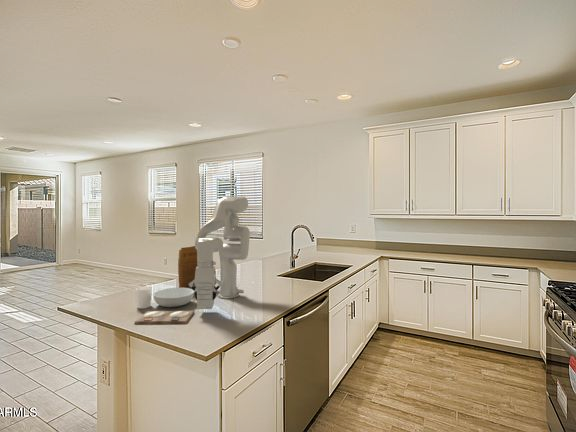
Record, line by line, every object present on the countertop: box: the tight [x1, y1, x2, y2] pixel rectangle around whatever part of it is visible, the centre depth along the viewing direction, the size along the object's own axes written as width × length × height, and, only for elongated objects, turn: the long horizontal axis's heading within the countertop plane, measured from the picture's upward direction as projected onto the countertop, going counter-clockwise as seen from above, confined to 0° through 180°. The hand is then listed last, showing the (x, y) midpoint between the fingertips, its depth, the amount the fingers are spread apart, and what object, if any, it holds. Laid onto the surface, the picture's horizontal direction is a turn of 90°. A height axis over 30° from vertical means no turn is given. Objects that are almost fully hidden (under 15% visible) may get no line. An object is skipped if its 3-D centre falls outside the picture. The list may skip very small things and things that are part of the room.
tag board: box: [134, 310, 195, 325], centre depth 144 cm, size 23×14×2 cm, turn 93°
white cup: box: [135, 285, 153, 309], centre depth 161 cm, size 8×8×10 cm
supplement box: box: [196, 283, 215, 310], centre depth 151 cm, size 7×7×13 cm
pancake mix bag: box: [177, 245, 197, 289], centre depth 198 cm, size 7×19×28 cm, turn 133°
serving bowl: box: [152, 287, 195, 308], centre depth 165 cm, size 21×21×7 cm
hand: (205, 298), depth 151 cm, fingers closed on supplement box, 7 cm apart
